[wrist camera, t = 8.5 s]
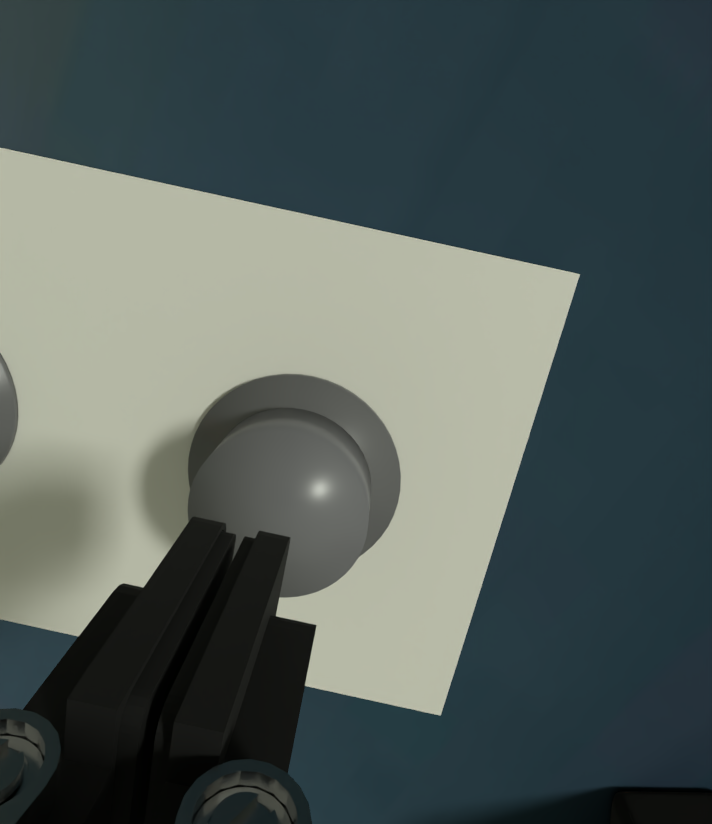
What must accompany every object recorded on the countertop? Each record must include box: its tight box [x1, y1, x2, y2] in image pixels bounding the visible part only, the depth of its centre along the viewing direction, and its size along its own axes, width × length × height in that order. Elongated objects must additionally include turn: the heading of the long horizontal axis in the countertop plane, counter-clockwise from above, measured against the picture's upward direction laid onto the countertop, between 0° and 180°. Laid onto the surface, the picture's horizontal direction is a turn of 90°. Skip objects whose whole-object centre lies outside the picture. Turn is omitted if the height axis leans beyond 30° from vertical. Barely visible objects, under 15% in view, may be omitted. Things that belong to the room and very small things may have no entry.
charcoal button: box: [188, 408, 371, 598], centre depth 15 cm, size 4×4×2 cm
